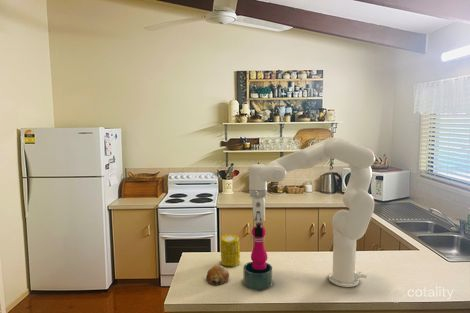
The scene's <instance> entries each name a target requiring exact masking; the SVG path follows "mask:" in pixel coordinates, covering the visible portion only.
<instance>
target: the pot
mask: <svg viewBox="0 0 470 313" xmlns="http://www.w3.org/2000/svg"><path fill="white" fill-rule="evenodd" d="M252 262H253V261H249V262H247V263H245V264H244V265H243V268H242V270H243V271H242V272H243V274H242V275H243V280H242V282H243V285H244V287H246V288H248V289H250V290H252V291H253V290H254V291H264V290H268V289H269V288H271V287H272V286H273V266H272V265H271V264H270V263H268V262H266V268H265V269H263V270H256V269H254V268H253V267H252Z"/></svg>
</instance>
